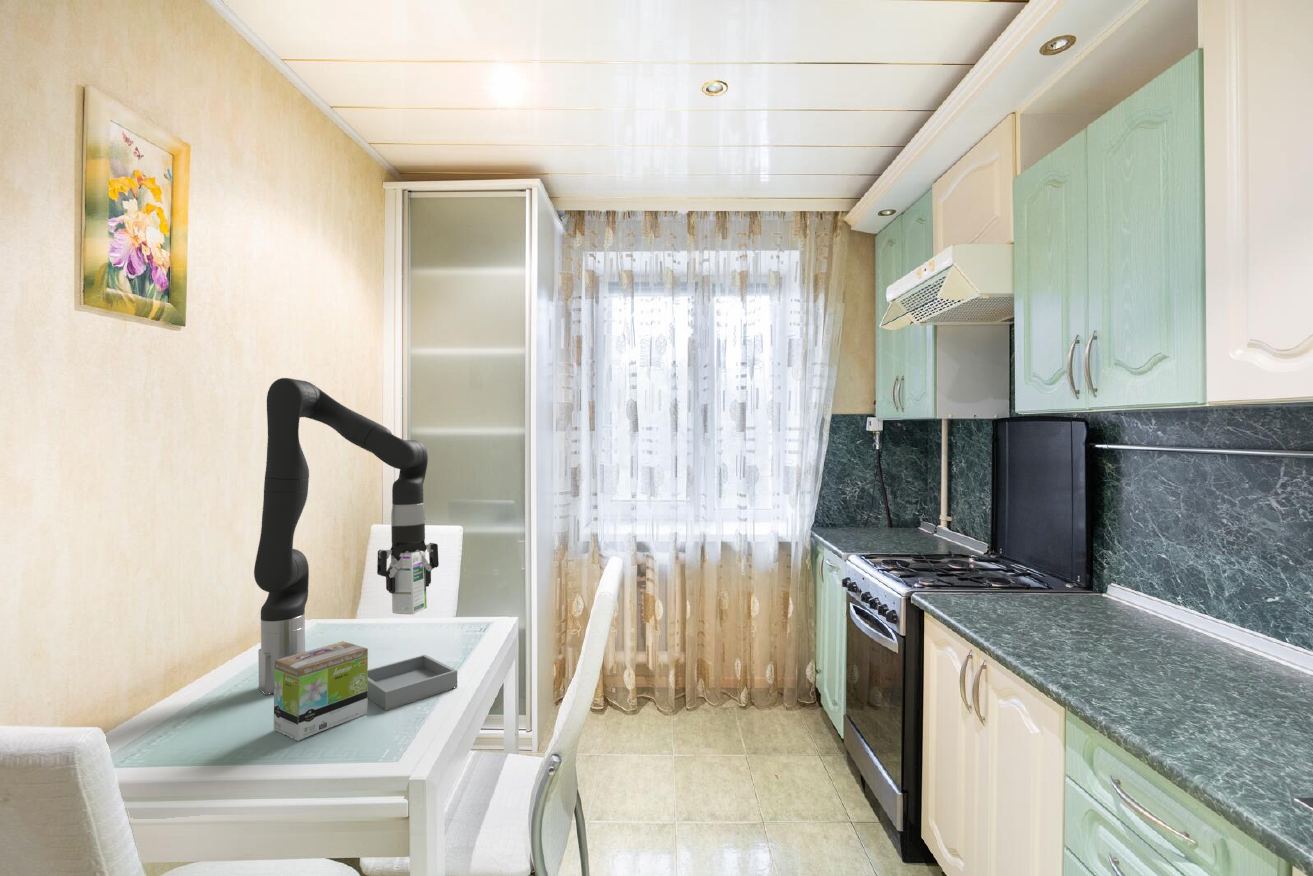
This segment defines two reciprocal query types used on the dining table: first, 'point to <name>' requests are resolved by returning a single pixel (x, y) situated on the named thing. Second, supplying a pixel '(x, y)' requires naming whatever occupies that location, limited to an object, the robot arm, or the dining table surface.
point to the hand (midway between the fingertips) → (409, 589)
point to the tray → (409, 681)
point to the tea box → (320, 689)
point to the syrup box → (409, 584)
